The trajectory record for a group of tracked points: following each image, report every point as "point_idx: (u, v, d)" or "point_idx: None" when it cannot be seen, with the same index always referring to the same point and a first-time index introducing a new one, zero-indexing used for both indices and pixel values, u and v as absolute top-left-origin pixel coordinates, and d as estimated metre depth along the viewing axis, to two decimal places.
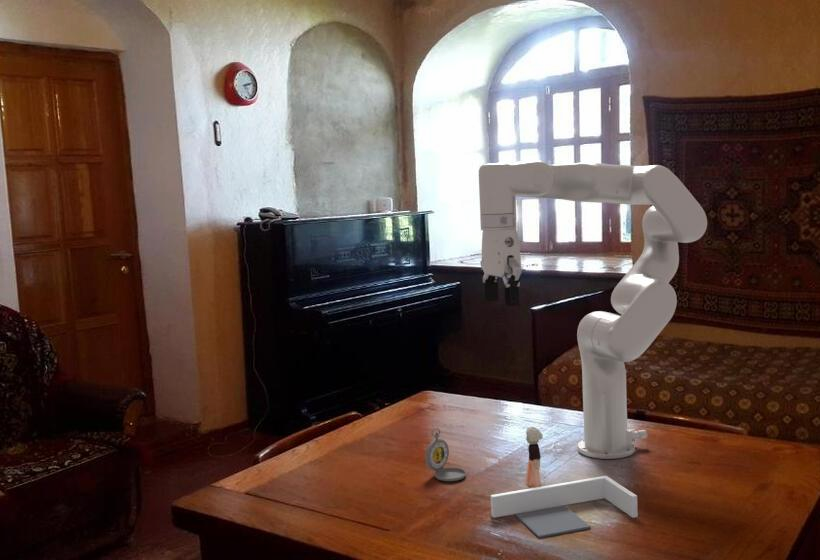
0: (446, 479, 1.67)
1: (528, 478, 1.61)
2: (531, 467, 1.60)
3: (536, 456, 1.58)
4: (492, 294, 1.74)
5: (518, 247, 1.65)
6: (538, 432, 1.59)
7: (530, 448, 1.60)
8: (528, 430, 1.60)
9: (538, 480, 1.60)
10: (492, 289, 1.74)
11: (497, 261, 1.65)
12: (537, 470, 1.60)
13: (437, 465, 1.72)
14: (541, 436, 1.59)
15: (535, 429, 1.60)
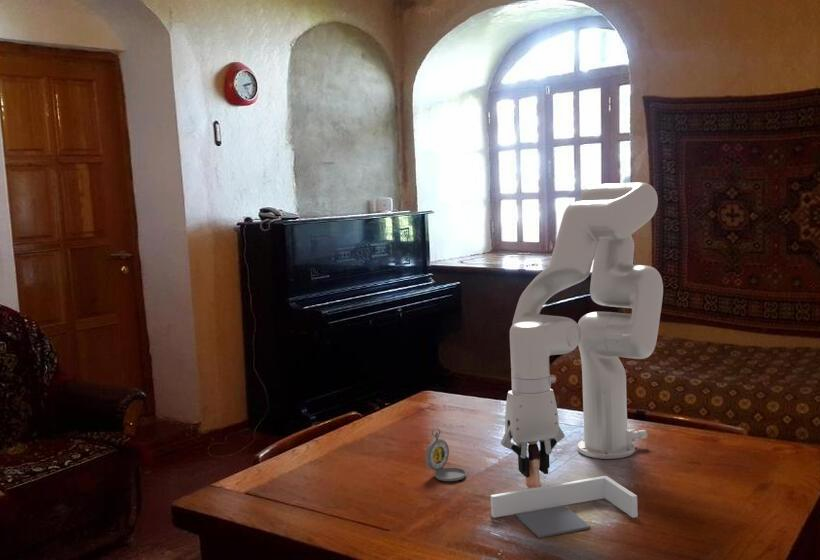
0: (446, 479, 1.67)
1: (528, 478, 1.61)
2: (531, 467, 1.60)
3: (535, 456, 1.58)
4: None
5: None
6: None
7: (529, 448, 1.60)
8: None
9: (538, 480, 1.60)
10: None
11: (553, 423, 1.59)
12: (537, 470, 1.60)
13: (437, 465, 1.72)
14: None
15: None
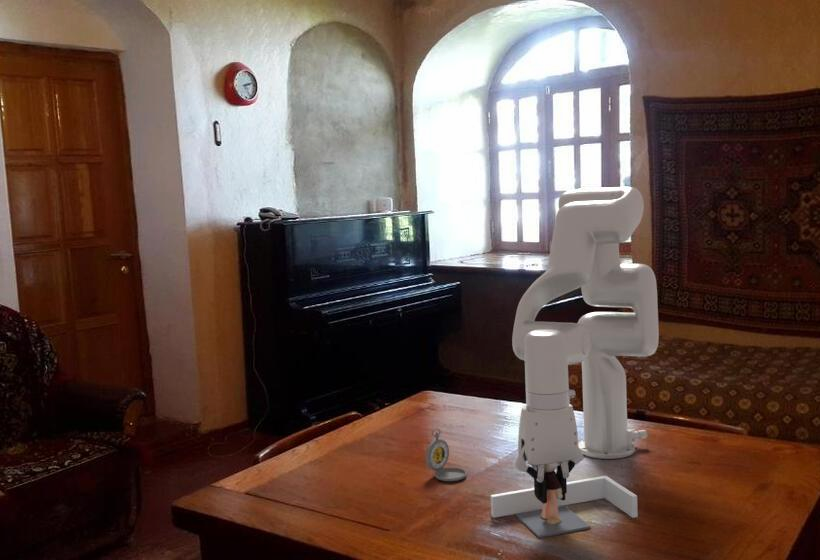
0: (446, 479, 1.67)
1: (546, 510, 1.44)
2: (549, 497, 1.44)
3: (559, 485, 1.41)
4: None
5: None
6: None
7: (548, 476, 1.43)
8: None
9: (557, 511, 1.44)
10: None
11: (572, 443, 1.42)
12: (557, 500, 1.43)
13: (437, 465, 1.72)
14: None
15: None
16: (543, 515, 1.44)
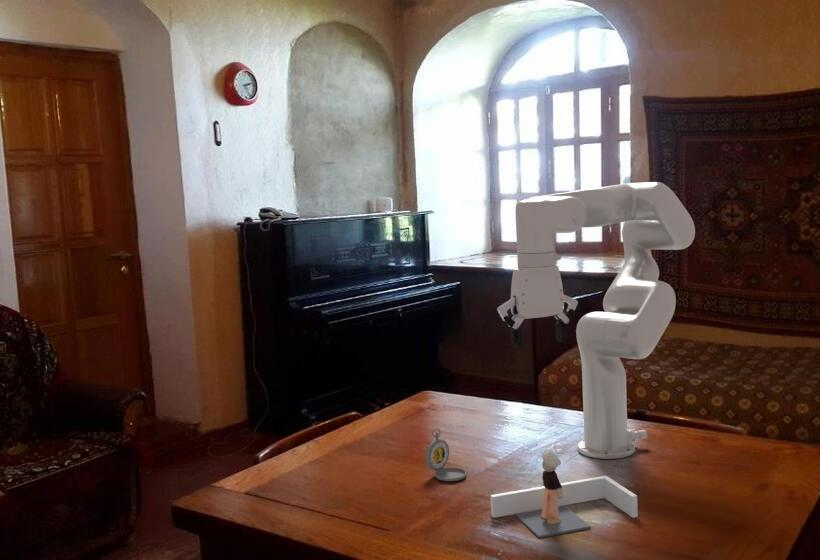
0: (446, 479, 1.67)
1: (546, 510, 1.44)
2: (549, 497, 1.44)
3: (559, 484, 1.41)
4: None
5: None
6: (556, 457, 1.43)
7: (549, 476, 1.43)
8: (546, 456, 1.43)
9: (557, 511, 1.44)
10: None
11: (558, 299, 1.61)
12: (557, 500, 1.43)
13: (437, 465, 1.72)
14: (560, 461, 1.43)
15: (553, 454, 1.43)
16: (543, 515, 1.44)
